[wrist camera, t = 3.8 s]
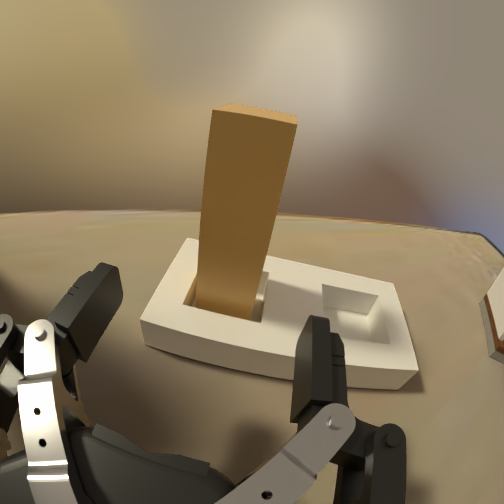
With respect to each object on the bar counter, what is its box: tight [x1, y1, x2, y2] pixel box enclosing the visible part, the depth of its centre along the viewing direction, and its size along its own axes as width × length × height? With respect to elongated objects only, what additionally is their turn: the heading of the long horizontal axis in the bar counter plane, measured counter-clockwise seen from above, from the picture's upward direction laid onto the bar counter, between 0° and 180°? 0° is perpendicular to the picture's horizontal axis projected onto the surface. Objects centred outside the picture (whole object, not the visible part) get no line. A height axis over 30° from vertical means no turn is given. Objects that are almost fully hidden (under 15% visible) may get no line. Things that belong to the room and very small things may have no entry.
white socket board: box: [140, 238, 419, 390], centre depth 21 cm, size 20×10×3 cm, turn 82°
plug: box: [196, 104, 297, 321], centre depth 18 cm, size 4×4×15 cm
